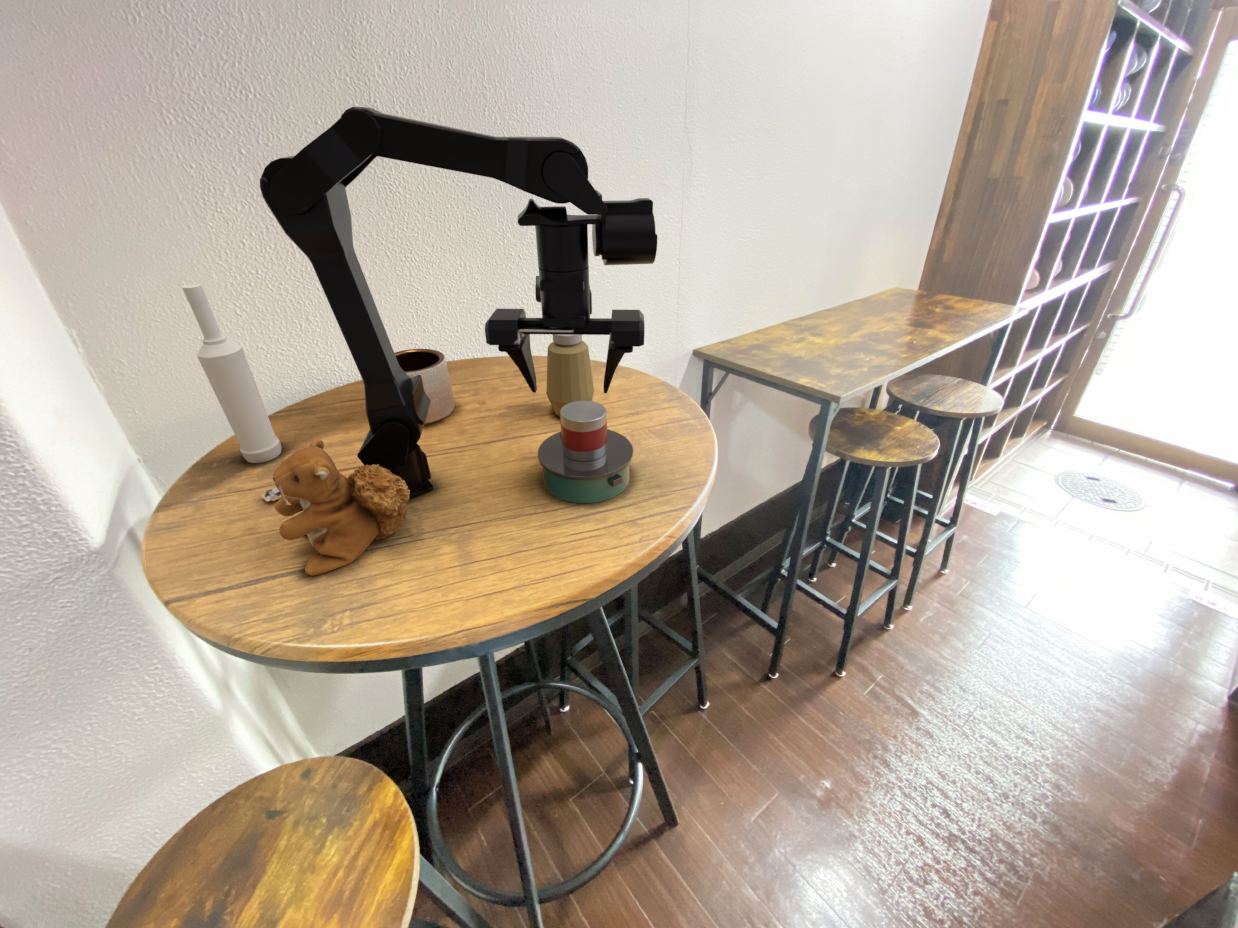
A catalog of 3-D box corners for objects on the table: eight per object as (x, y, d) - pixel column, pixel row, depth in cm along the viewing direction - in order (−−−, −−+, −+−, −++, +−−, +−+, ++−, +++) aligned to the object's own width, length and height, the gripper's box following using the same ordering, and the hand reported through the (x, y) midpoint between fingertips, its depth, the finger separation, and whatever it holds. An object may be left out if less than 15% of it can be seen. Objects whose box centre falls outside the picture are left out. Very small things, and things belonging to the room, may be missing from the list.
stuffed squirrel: (295, 529, 66) (256, 437, 59) (415, 501, 71) (392, 413, 63) (290, 583, 58) (244, 485, 51) (424, 548, 63) (399, 453, 56)
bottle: (266, 465, 78) (191, 292, 64) (235, 461, 79) (155, 290, 65) (291, 447, 82) (225, 281, 69) (261, 444, 83) (191, 279, 69)
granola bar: (312, 476, 75) (310, 470, 75) (320, 482, 74) (317, 476, 73) (261, 498, 71) (258, 492, 70) (268, 505, 70) (265, 498, 69)
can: (579, 467, 69) (577, 426, 66) (553, 448, 73) (550, 409, 70) (616, 451, 72) (616, 412, 69) (589, 434, 76) (588, 396, 73)
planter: (445, 428, 87) (433, 373, 82) (379, 427, 87) (363, 373, 82) (462, 398, 96) (453, 348, 91) (403, 398, 97) (390, 347, 91)
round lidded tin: (578, 520, 67) (576, 491, 65) (521, 472, 76) (517, 445, 74) (654, 482, 74) (655, 454, 72) (593, 443, 83) (592, 417, 81)
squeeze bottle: (573, 427, 87) (567, 319, 78) (538, 413, 91) (528, 309, 82) (604, 409, 93) (602, 306, 83) (569, 397, 97) (563, 297, 87)
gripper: (644, 252, 67) (641, 368, 76) (496, 251, 68) (510, 366, 76) (646, 273, 58) (642, 403, 66) (475, 272, 58) (493, 401, 67)
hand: (570, 391), depth 69 cm, fingers open, 9 cm apart
